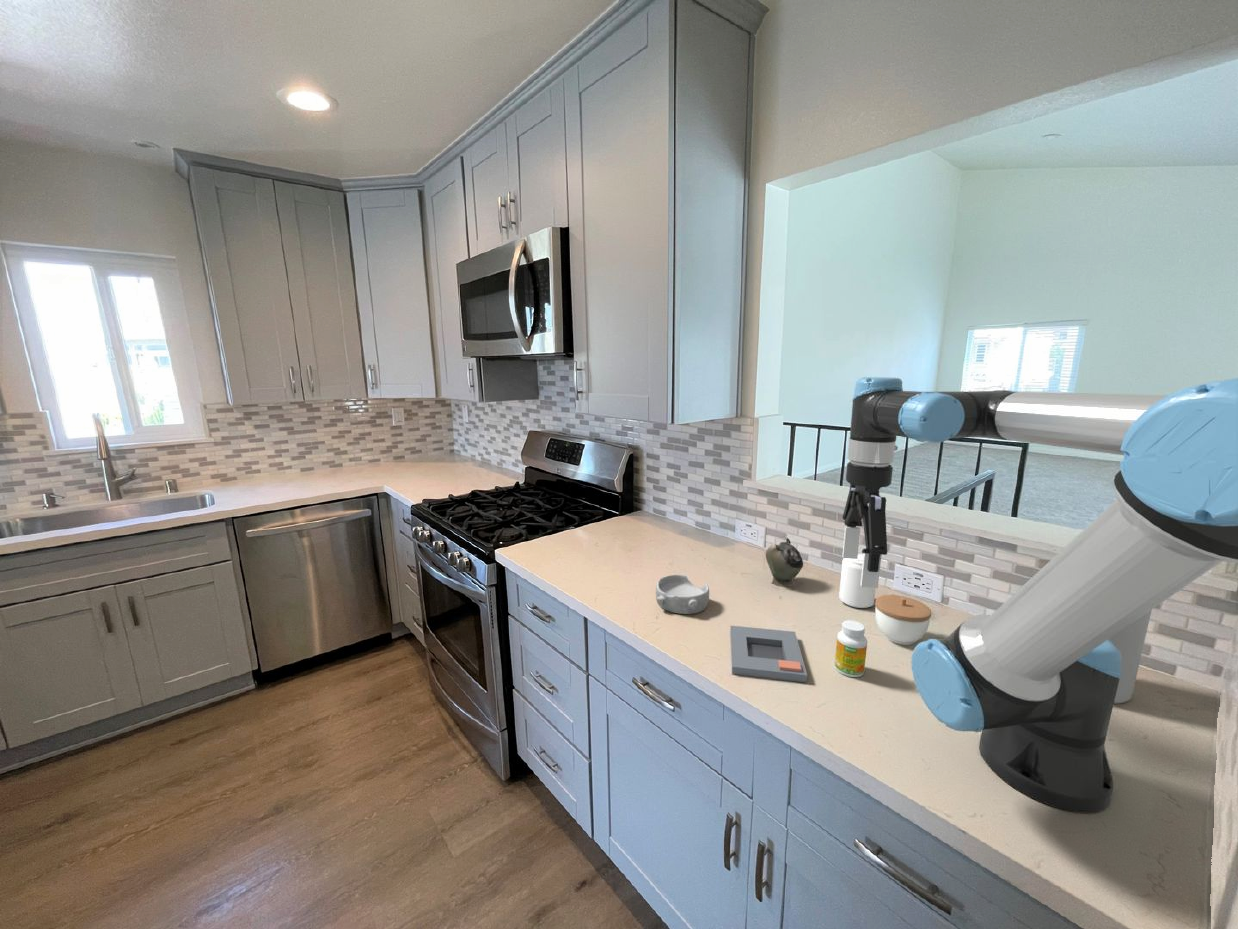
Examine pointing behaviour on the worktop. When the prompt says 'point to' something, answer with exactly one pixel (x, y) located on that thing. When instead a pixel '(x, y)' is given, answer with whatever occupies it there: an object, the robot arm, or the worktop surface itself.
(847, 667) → the supplement bottle
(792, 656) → the socket plate
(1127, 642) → the cylinder vase
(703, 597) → the dish
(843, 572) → the beverage can
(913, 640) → the lidded jar
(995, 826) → the worktop surface
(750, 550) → the worktop surface
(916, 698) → the worktop surface
